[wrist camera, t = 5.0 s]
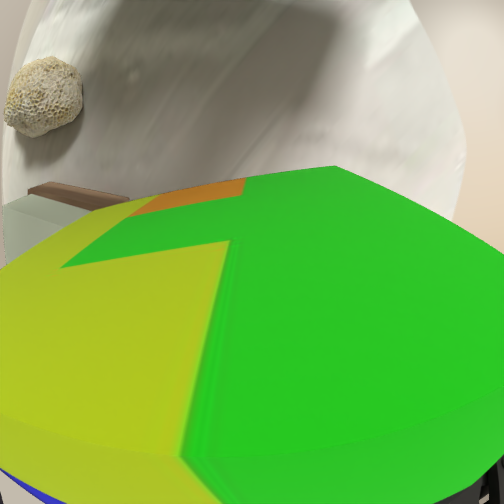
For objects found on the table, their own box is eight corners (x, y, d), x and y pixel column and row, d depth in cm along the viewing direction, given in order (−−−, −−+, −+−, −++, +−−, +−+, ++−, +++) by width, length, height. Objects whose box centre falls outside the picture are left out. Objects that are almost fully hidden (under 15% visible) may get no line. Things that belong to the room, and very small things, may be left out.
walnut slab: (52, 180, 29) (27, 189, 25) (130, 197, 30) (110, 208, 26) (52, 264, 34) (32, 280, 29) (123, 287, 35) (107, 308, 30)
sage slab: (31, 193, 25) (2, 205, 20) (107, 215, 26) (81, 232, 21) (33, 277, 29) (11, 296, 24) (102, 305, 30) (82, 330, 25)
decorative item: (75, 24, 18) (53, 94, 18) (100, 66, 27) (90, 131, 27) (-3, 64, 17) (-26, 133, 17) (29, 93, 26) (15, 156, 26)
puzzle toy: (161, 381, 15) (114, 540, 6) (93, 210, 11) (-96, 354, 2) (342, 364, 14) (387, 542, 5) (335, 165, 10) (588, 324, 1)
